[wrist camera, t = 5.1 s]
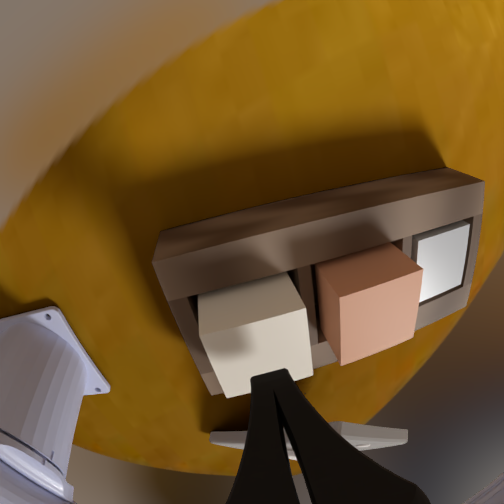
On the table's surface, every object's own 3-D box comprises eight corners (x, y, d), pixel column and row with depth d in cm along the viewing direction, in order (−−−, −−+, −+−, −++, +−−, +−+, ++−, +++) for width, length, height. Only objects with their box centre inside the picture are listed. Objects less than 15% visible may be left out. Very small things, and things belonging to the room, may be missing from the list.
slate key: (387, 280, 18) (412, 305, 16) (388, 220, 17) (418, 240, 14) (434, 263, 19) (460, 284, 16) (438, 207, 17) (469, 223, 14)
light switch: (205, 451, 22) (336, 454, 13) (216, 392, 26) (339, 356, 17) (279, 462, 25) (408, 453, 16) (285, 411, 29) (407, 381, 20)
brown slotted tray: (207, 354, 19) (211, 395, 16) (160, 231, 15) (151, 262, 12) (438, 281, 20) (465, 306, 17) (447, 167, 16) (484, 181, 13)
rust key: (320, 328, 16) (340, 366, 13) (314, 263, 14) (339, 297, 12) (386, 305, 16) (413, 337, 14) (389, 241, 14) (423, 268, 12)
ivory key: (220, 355, 16) (226, 398, 13) (197, 293, 14) (199, 335, 11) (296, 335, 16) (313, 375, 13) (285, 270, 14) (306, 307, 11)
